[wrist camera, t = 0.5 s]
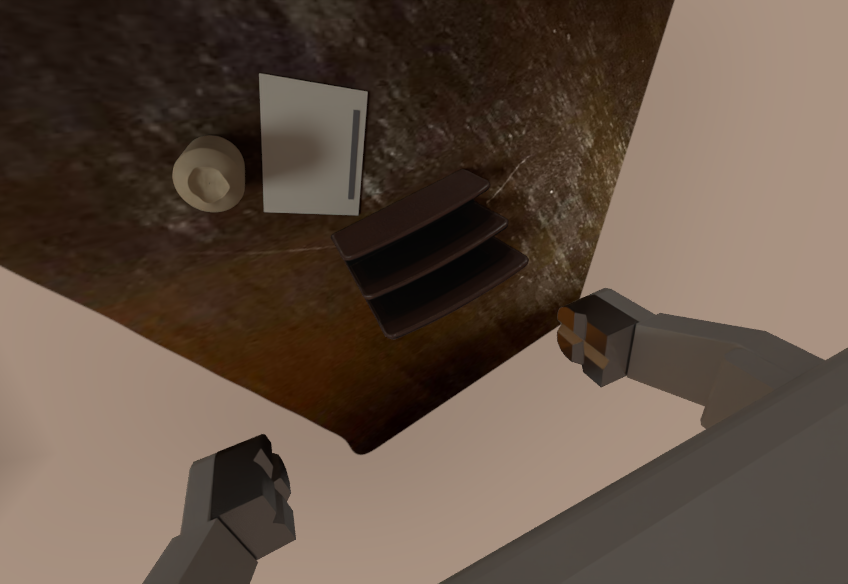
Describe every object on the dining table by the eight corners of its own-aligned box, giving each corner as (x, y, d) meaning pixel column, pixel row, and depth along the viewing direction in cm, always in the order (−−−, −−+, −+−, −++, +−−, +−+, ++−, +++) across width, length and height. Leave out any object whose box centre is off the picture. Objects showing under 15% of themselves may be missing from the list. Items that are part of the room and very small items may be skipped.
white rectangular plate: (259, 73, 38) (259, 73, 38) (367, 91, 42) (367, 91, 42) (264, 211, 44) (264, 212, 44) (357, 214, 49) (358, 215, 48)
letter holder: (480, 229, 57) (538, 268, 46) (361, 293, 54) (392, 351, 43) (462, 166, 51) (524, 193, 40) (329, 234, 49) (354, 283, 37)
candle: (247, 142, 40) (248, 160, 32) (242, 193, 42) (241, 222, 34) (186, 127, 38) (170, 143, 30) (184, 183, 40) (168, 210, 32)
